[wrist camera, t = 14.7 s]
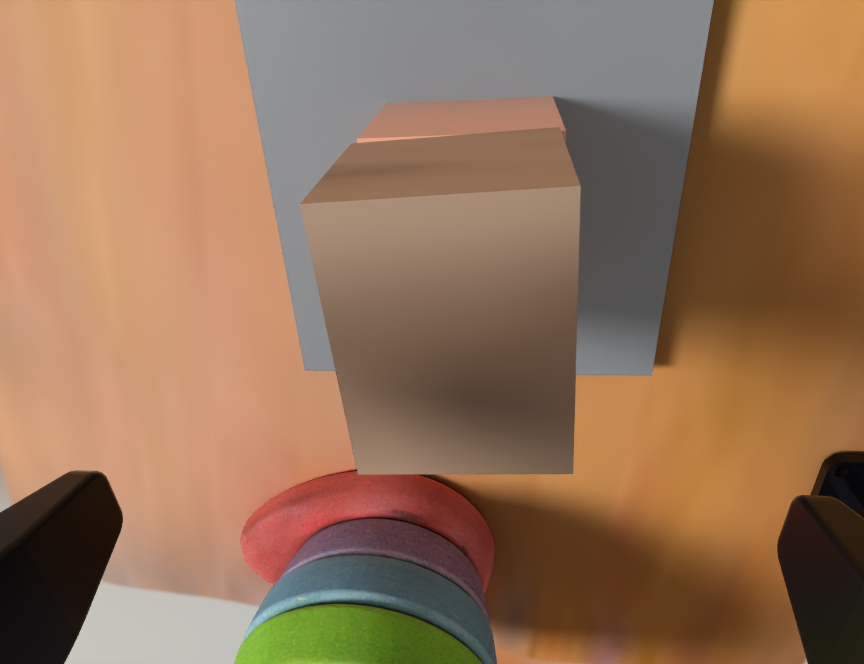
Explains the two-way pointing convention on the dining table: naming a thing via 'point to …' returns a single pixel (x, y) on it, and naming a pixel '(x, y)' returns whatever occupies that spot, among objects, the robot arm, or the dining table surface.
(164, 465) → the dining table surface
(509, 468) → the walnut brick
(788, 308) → the dining table surface
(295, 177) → the baseplate
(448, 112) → the terracotta brick
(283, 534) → the stacking bear
